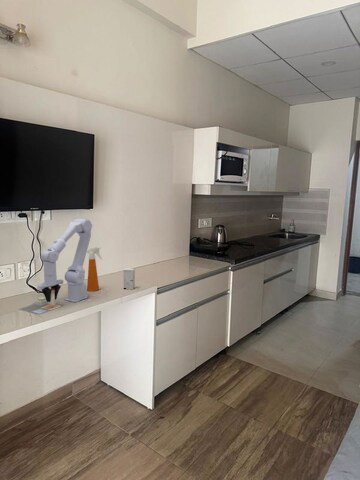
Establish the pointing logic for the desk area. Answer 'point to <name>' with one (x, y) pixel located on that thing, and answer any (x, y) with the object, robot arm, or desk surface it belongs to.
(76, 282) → the robot arm
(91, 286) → the spray bottle
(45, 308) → the picture sheet
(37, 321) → the desk surface
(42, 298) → the button
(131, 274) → the skincare box
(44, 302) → the button housing
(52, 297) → the cylinder
